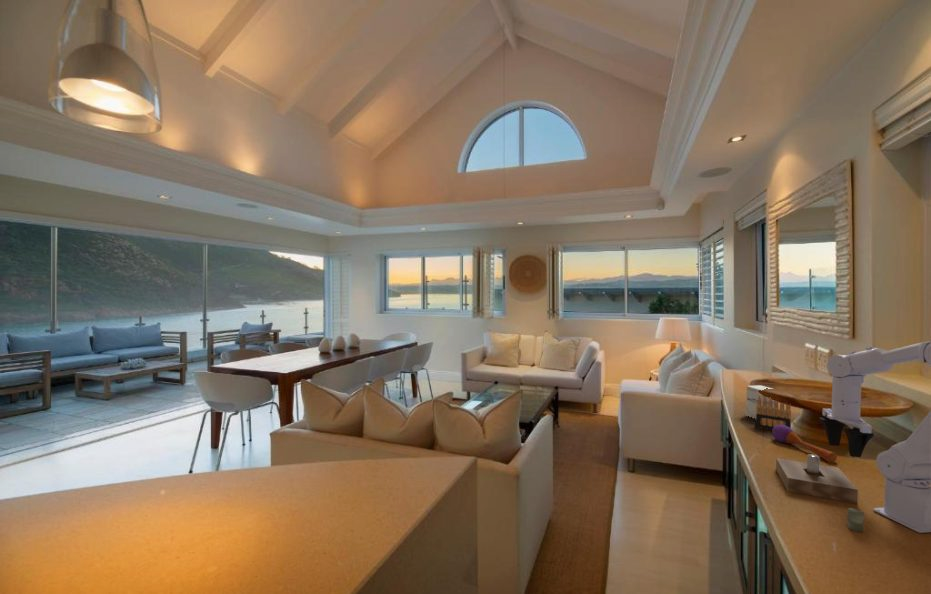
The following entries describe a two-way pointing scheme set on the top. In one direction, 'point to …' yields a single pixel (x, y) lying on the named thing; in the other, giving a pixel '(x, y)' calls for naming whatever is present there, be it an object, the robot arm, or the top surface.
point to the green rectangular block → (855, 519)
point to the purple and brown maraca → (800, 442)
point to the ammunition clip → (772, 414)
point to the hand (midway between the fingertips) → (844, 450)
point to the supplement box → (755, 400)
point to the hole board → (816, 481)
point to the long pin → (813, 464)
